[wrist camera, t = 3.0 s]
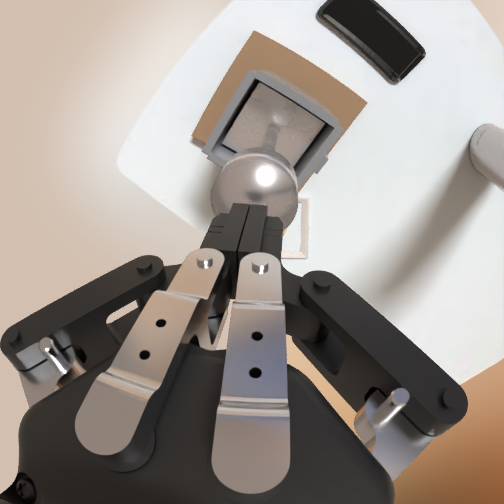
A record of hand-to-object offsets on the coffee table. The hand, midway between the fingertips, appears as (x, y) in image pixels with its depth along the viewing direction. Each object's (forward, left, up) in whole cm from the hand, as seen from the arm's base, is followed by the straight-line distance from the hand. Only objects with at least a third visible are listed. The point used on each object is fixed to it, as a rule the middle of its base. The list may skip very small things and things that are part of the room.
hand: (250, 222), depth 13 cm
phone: (-4, -19, -32) cm, 37 cm away
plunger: (0, 0, -19) cm, 19 cm away
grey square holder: (0, 0, -31) cm, 31 cm away
